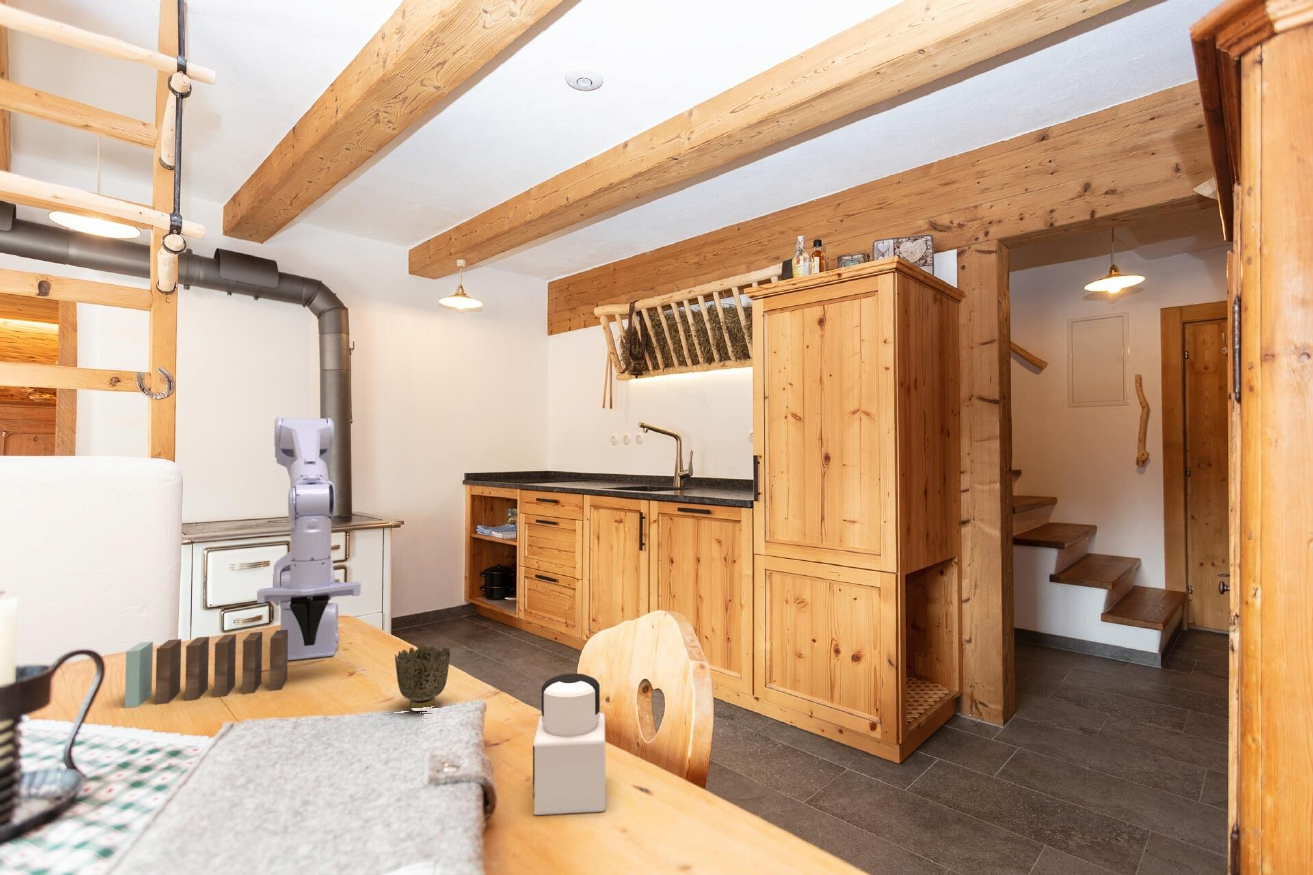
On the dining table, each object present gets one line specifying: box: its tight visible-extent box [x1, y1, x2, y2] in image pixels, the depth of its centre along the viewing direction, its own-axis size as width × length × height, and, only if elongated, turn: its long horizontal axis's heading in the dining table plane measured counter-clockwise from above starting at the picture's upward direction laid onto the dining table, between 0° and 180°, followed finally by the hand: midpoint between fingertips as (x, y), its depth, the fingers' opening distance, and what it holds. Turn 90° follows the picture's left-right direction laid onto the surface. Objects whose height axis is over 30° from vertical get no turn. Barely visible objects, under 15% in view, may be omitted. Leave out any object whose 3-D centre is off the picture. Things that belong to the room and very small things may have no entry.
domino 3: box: [184, 636, 210, 702], centre depth 97 cm, size 2×5×8 cm, turn 21°
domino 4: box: [213, 633, 237, 699], centre depth 98 cm, size 2×5×8 cm, turn 21°
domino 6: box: [269, 629, 289, 692], centre depth 101 cm, size 2×5×8 cm, turn 21°
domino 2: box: [154, 638, 182, 705], centre depth 95 cm, size 2×5×8 cm, turn 21°
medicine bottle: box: [532, 673, 607, 816], centre depth 67 cm, size 7×7×12 cm
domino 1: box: [124, 641, 154, 709], centre depth 94 cm, size 2×5×8 cm, turn 21°
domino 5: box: [241, 631, 263, 695], centre depth 99 cm, size 2×5×8 cm, turn 21°
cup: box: [394, 644, 452, 709], centre depth 90 cm, size 8×7×8 cm
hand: (309, 643), depth 102 cm, fingers closed
